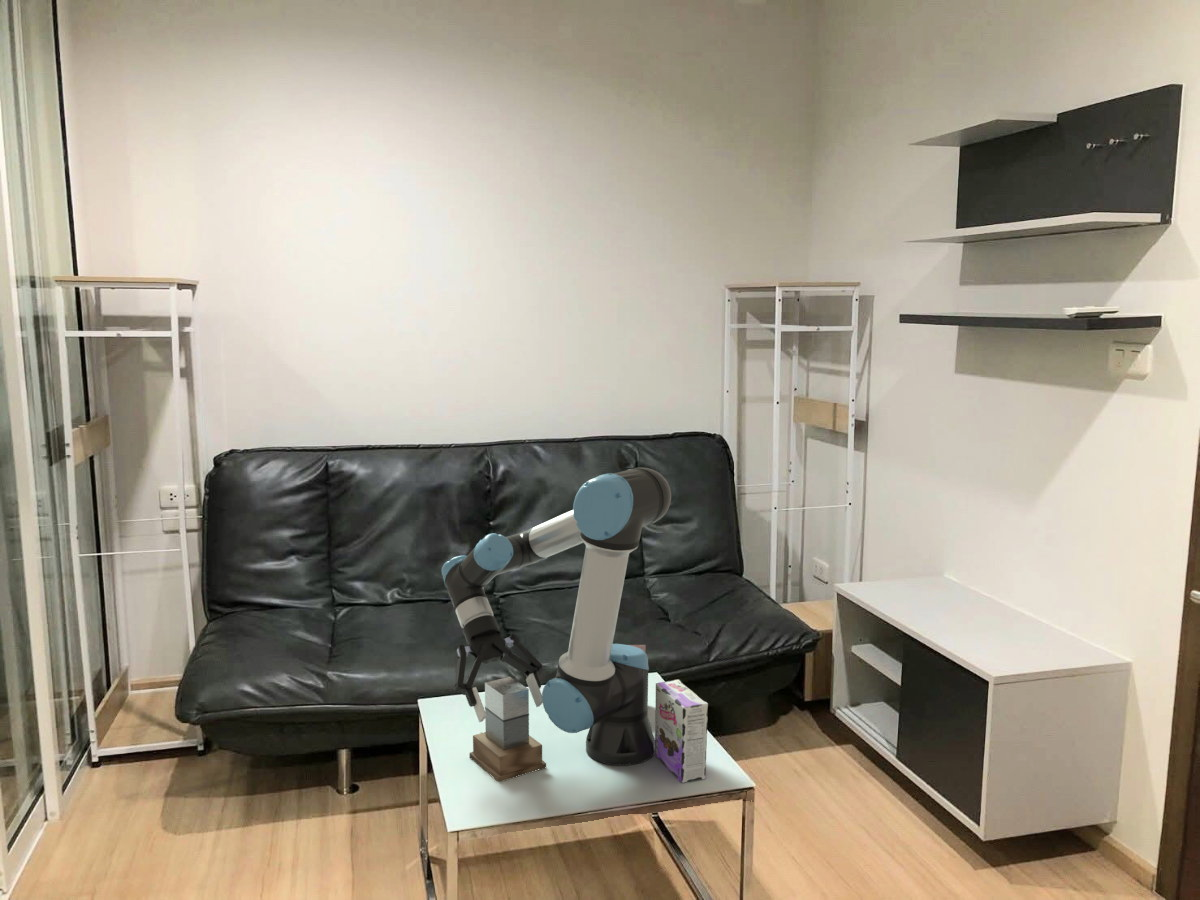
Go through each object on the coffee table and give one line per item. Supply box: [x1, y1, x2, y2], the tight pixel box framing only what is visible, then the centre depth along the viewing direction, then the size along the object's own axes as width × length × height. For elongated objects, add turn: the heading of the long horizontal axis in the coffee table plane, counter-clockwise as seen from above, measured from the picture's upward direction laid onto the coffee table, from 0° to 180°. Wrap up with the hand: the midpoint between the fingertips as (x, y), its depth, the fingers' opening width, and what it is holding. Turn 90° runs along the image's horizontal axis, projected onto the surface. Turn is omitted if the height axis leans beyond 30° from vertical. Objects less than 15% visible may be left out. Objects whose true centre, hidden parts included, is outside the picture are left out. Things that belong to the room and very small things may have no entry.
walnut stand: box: [469, 731, 547, 783], centre depth 202 cm, size 11×13×5 cm
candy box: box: [654, 679, 709, 784], centre depth 200 cm, size 14×6×16 cm, turn 21°
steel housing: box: [484, 676, 530, 751], centre depth 201 cm, size 6×8×12 cm
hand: (512, 711), depth 199 cm, fingers open, 13 cm apart
